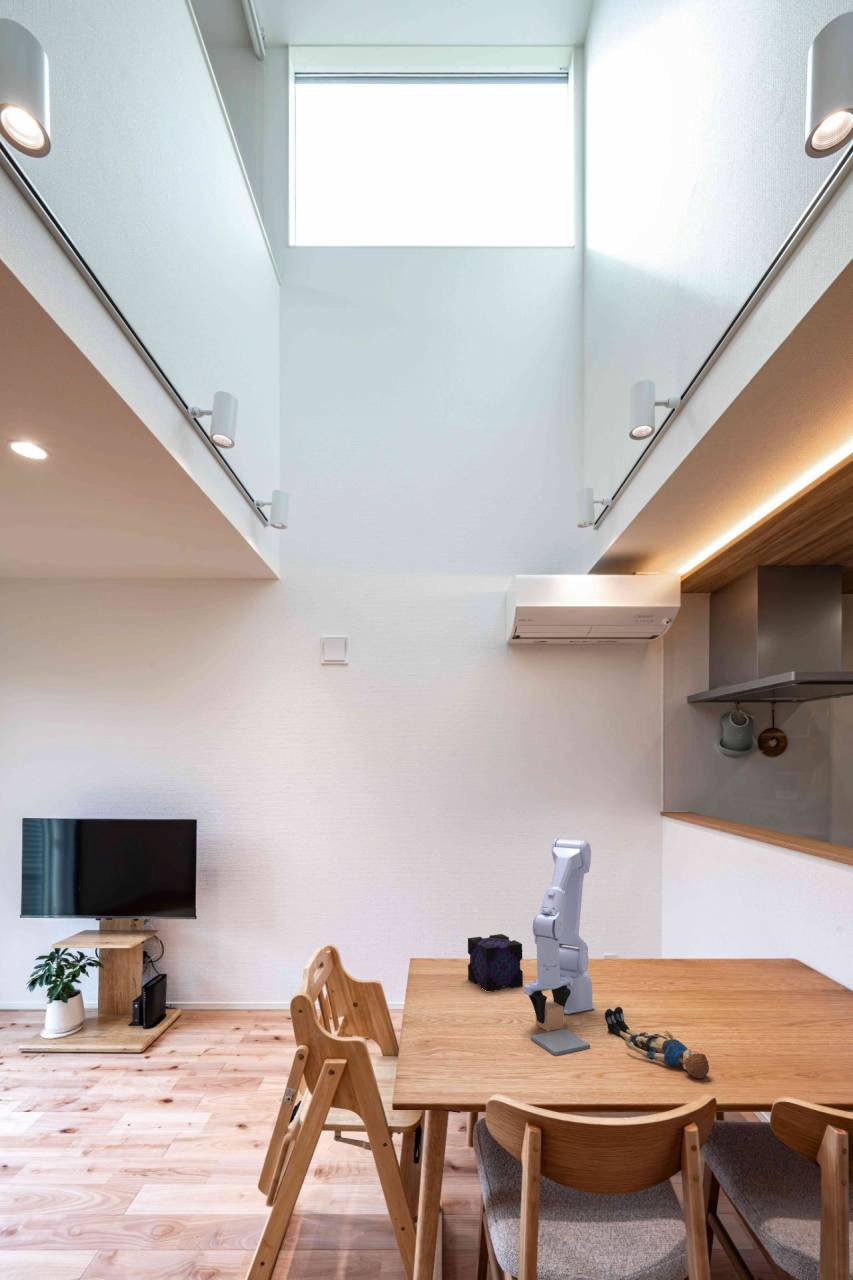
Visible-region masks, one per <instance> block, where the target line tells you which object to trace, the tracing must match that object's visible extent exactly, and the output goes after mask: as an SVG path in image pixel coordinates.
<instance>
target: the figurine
mask: <svg viewBox="0 0 853 1280" xmlns="http://www.w3.org/2000/svg"><path fill="white" fill-rule="evenodd" d="M623 1011H624V1010H623V1008H622V1007H621V1006H616V1007H615V1008H614V1010H613V1009H612V1008H607V1009H606V1011H604V1019H605V1023H606V1024H607V1029H608V1030H607V1031H608V1032H611V1033H615V1034H616V1035H618V1036H619V1037H622V1038H624V1043H625V1045H626V1048H628V1049H630V1050H632V1051H634V1052H637V1053H638V1054H641V1055H642V1056H644V1057H646V1058H648V1059H649V1060H652V1061H653V1060H658V1061H663V1062H665V1063H666V1064H667V1065H668V1066H672V1067H675V1066H677V1067H679V1068H680V1069H682V1070H684V1071H686V1072H687V1073H688V1074H689V1075H690V1076H691V1077H692V1078H693V1079H697V1080H701V1079H705V1078H707V1075H708V1074H709V1073H710V1065H709V1060H708V1059H707V1057H706V1055H705V1053H702V1052H701V1053H700V1052H696V1051H693V1050H692V1049H688V1047H687V1046H686V1045H684V1043H683V1042H681V1041H679V1040H678V1039H677V1038H676V1037H675V1035H673V1034H672V1032H670V1031H668V1030H665V1031H664V1035H661V1034H659V1033H651V1034H650V1033H648V1032H645V1031H644V1032H636V1031H634V1030H631V1029H630V1027H629V1026H628V1025H627V1023H626V1021H625V1015H624V1014H625V1013H624V1012H623ZM637 1045H638V1046H640V1048H639V1047H637Z"/></svg>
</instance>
